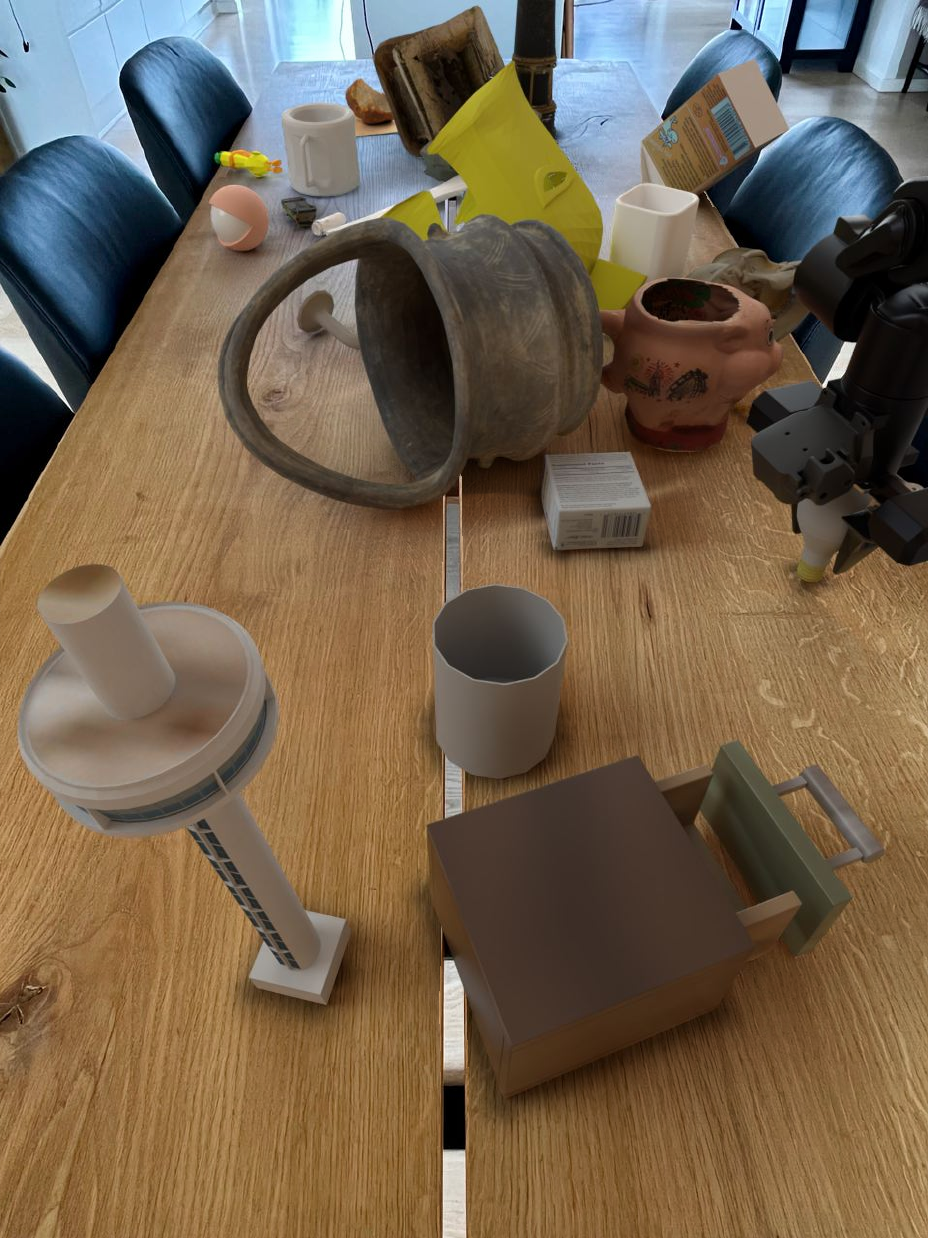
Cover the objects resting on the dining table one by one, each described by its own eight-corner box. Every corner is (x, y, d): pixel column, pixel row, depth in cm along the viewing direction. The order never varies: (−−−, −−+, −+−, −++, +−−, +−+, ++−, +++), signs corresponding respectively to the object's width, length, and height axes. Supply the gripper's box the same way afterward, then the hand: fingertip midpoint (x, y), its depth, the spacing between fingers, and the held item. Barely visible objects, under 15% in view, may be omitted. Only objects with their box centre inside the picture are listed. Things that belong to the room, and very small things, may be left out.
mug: (303, 170, 133) (294, 98, 126) (368, 175, 132) (363, 103, 125) (274, 201, 124) (262, 126, 117) (343, 207, 123) (336, 132, 116)
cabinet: (617, 831, 53) (638, 754, 47) (716, 1009, 46) (757, 946, 39) (430, 897, 50) (425, 824, 44) (504, 1100, 43) (511, 1047, 36)
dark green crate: (277, 198, 121) (280, 216, 122) (292, 210, 115) (295, 229, 117) (302, 194, 122) (304, 213, 124) (318, 206, 116) (321, 225, 118)
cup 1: (489, 801, 55) (494, 708, 47) (411, 723, 59) (404, 627, 52) (578, 731, 58) (595, 635, 51) (498, 663, 63) (503, 566, 55)
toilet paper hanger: (344, 379, 93) (345, 339, 89) (296, 339, 96) (296, 298, 92) (496, 307, 106) (504, 268, 101) (451, 273, 108) (457, 234, 104)
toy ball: (203, 247, 114) (190, 185, 108) (251, 231, 117) (240, 170, 112) (236, 265, 110) (224, 202, 104) (284, 248, 113) (275, 187, 108)
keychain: (766, 418, 85) (767, 409, 84) (760, 423, 84) (761, 414, 83) (701, 393, 89) (702, 384, 88) (695, 397, 89) (696, 389, 88)
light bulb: (759, 566, 70) (794, 469, 63) (811, 549, 72) (851, 453, 64) (801, 609, 67) (843, 512, 59) (855, 590, 68) (902, 493, 61)
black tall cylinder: (550, 125, 150) (566, -93, 128) (560, 141, 144) (579, -85, 122) (501, 126, 149) (508, -93, 128) (509, 143, 143) (518, -84, 121)
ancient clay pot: (621, 205, 62) (225, 281, 51) (612, 489, 75) (297, 594, 65) (478, 179, 78) (156, 232, 68) (492, 415, 92) (225, 490, 81)
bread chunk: (416, 129, 147) (381, 72, 139) (365, 170, 150) (328, 115, 142) (400, 103, 157) (367, 48, 149) (352, 142, 159) (317, 89, 152)
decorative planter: (558, 462, 80) (572, 325, 70) (554, 393, 88) (567, 262, 78) (768, 469, 79) (814, 331, 69) (745, 399, 88) (782, 267, 77)
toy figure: (293, 175, 133) (237, 165, 138) (291, 150, 131) (234, 141, 136) (265, 182, 129) (208, 172, 133) (262, 156, 127) (204, 146, 131)
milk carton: (789, 129, 118) (687, 205, 134) (754, 58, 116) (654, 143, 131) (755, 147, 112) (652, 225, 128) (717, 73, 110) (618, 161, 126)
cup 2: (678, 328, 98) (705, 195, 87) (649, 354, 94) (673, 217, 83) (623, 311, 101) (642, 180, 90) (593, 335, 97) (609, 200, 86)
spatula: (320, 230, 114) (325, 248, 116) (339, 230, 112) (344, 249, 113) (458, 170, 128) (462, 187, 129) (478, 169, 125) (481, 187, 127)
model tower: (207, 1018, 46) (-129, 681, 23) (266, 876, 51) (39, 492, 29) (349, 1055, 44) (132, 727, 21) (396, 903, 49) (260, 515, 27)
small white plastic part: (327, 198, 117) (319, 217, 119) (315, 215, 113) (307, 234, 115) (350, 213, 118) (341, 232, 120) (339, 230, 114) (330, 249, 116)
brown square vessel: (367, 110, 125) (331, 141, 143) (499, 185, 137) (451, 205, 154) (413, -41, 122) (371, 9, 140) (544, 49, 134) (490, 85, 151)
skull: (842, 222, 86) (751, 212, 94) (719, 293, 81) (634, 276, 89) (837, 328, 93) (753, 310, 102) (724, 400, 88) (645, 374, 96)
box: (644, 549, 71) (624, 490, 77) (652, 506, 68) (631, 449, 74) (552, 553, 71) (539, 493, 77) (556, 510, 68) (543, 451, 74)
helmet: (521, 106, 97) (660, 317, 94) (356, 225, 100) (485, 432, 98) (505, 6, 81) (670, 257, 79) (310, 152, 85) (462, 396, 82)
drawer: (776, 777, 55) (808, 715, 50) (883, 921, 48) (931, 866, 43) (549, 857, 51) (559, 798, 46) (631, 1027, 44) (653, 979, 39)
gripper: (711, 333, 60) (671, 504, 71) (887, 483, 48) (805, 661, 59) (839, 308, 62) (781, 477, 74) (1037, 444, 50) (931, 621, 62)
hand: (818, 551), depth 67 cm, fingers closed on light bulb, 5 cm apart
